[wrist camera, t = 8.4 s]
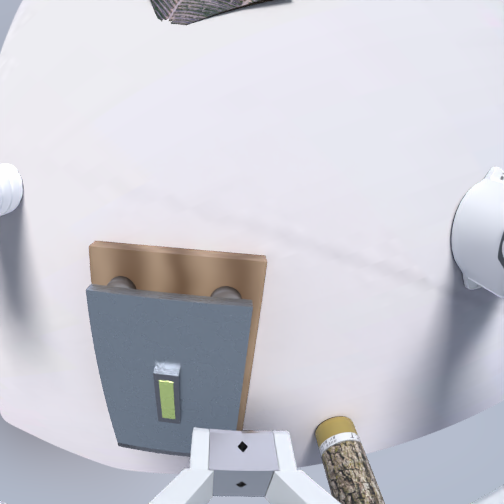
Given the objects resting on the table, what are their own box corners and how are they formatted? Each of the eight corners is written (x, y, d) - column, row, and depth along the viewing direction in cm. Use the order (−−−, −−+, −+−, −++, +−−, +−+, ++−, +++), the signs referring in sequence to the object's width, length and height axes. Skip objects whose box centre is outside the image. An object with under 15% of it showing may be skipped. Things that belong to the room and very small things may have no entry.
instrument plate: (251, 299, 32) (253, 312, 29) (231, 452, 40) (232, 466, 38) (91, 283, 30) (81, 294, 27) (121, 439, 38) (117, 452, 36)
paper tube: (317, 442, 48) (349, 560, 24) (310, 422, 46) (346, 553, 22) (353, 430, 48) (396, 544, 24) (350, 409, 45) (399, 535, 22)
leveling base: (265, 255, 36) (270, 271, 31) (239, 436, 46) (240, 457, 41) (95, 240, 34) (78, 254, 29) (121, 423, 44) (115, 443, 39)
